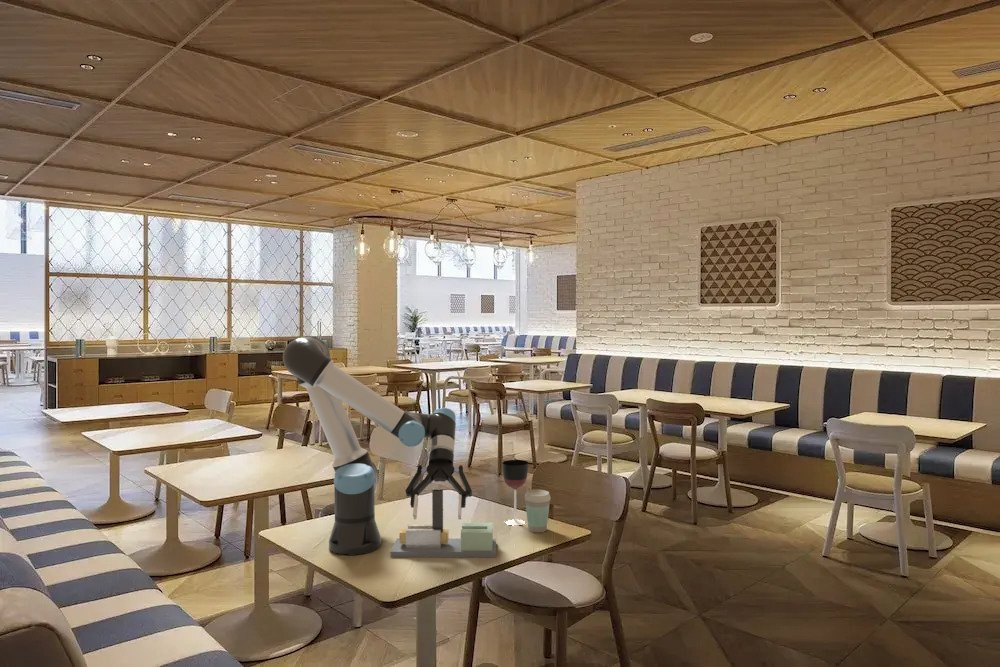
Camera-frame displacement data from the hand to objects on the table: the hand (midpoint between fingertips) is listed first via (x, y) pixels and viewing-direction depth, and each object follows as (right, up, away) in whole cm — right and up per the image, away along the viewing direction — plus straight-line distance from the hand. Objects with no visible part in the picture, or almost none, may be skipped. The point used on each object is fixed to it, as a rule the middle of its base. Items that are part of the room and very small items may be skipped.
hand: (437, 517), depth 192 cm
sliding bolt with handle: (-4, -8, +3) cm, 9 cm away
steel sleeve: (-4, -9, +3) cm, 10 cm away
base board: (+2, -10, +3) cm, 11 cm away
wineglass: (+23, -10, +28) cm, 37 cm away
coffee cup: (+30, -10, +21) cm, 38 cm away
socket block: (+12, -9, +3) cm, 15 cm away
